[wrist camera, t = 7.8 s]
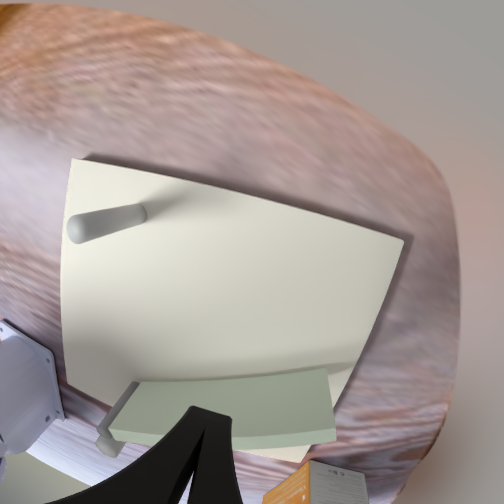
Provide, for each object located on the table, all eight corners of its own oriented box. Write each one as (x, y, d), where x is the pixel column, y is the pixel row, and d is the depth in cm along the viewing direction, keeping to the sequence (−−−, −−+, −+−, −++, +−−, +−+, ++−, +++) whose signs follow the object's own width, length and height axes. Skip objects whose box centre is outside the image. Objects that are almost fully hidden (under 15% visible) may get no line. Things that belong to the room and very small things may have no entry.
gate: (133, 392, 18) (101, 437, 14) (128, 381, 18) (94, 425, 13) (327, 381, 16) (336, 441, 11) (326, 368, 16) (335, 427, 11)
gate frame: (299, 453, 20) (298, 518, 14) (73, 377, 21) (31, 419, 15) (398, 237, 16) (454, 268, 9) (81, 159, 17) (8, 156, 10)
